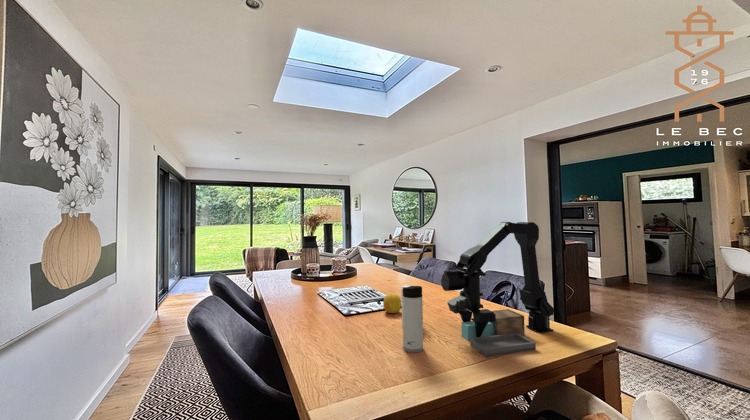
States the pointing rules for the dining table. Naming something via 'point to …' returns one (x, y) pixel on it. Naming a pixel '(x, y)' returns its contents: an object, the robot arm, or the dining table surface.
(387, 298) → the fruit
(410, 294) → the travel mug
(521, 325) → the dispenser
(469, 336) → the teal long block
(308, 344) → the dining table surface
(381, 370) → the dining table surface
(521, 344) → the tray
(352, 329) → the dining table surface
